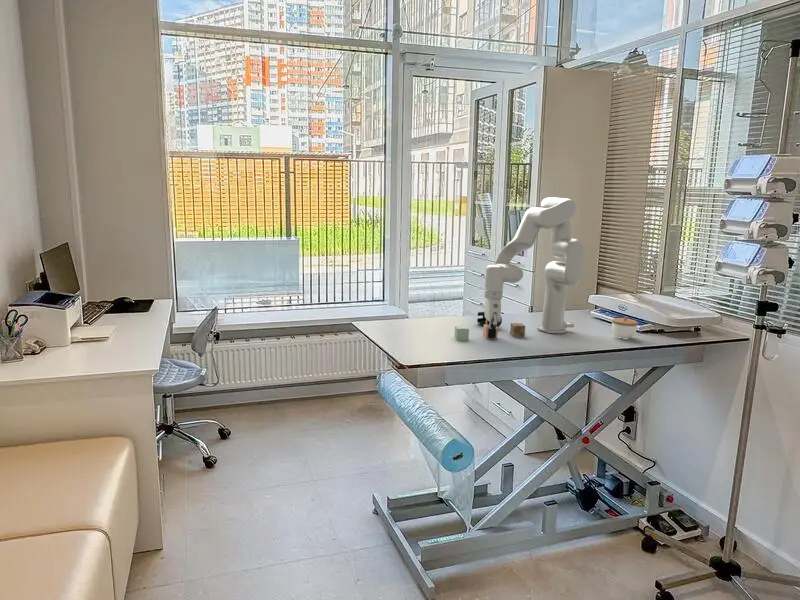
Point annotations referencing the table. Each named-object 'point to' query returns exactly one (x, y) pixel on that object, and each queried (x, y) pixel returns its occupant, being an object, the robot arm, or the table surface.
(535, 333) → the table surface
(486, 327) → the terracotta block
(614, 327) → the lidded jar
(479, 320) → the black claw piece
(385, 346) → the table surface
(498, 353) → the table surface
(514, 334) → the walnut block
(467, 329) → the sage block
